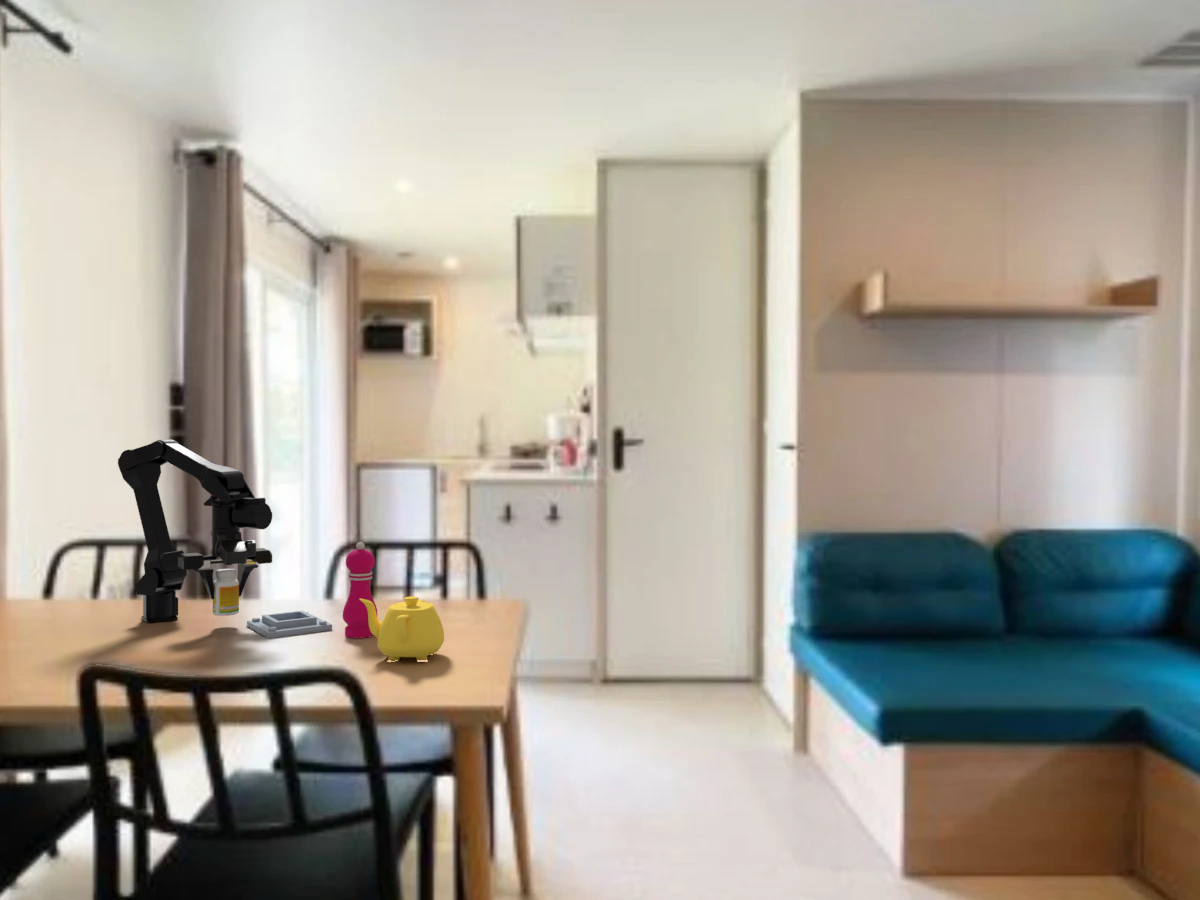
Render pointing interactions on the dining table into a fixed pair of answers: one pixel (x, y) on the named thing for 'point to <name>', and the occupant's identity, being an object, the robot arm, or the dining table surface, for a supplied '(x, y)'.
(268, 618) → the base plate
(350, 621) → the pepper mill
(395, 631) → the teapot
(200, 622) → the dining table surface
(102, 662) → the dining table surface
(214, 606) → the supplement bottle
